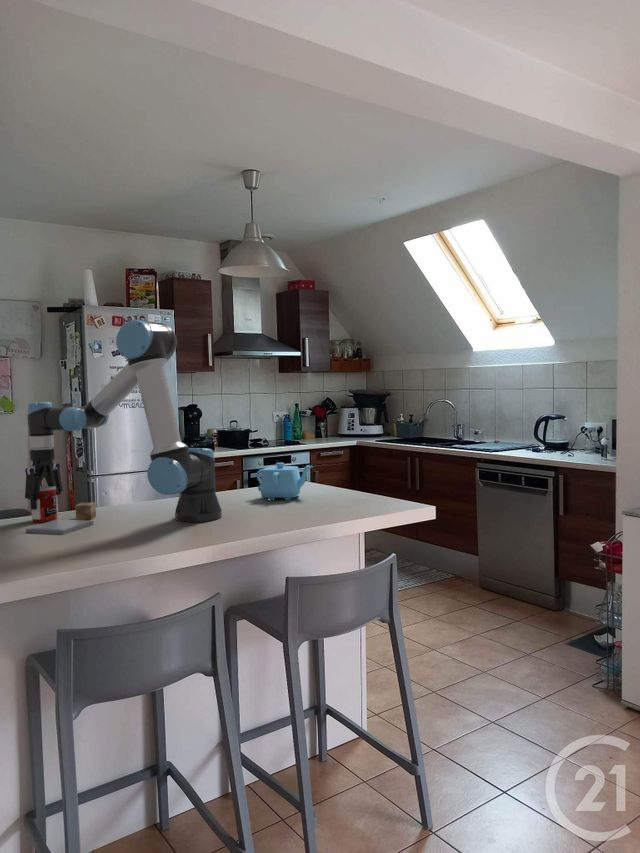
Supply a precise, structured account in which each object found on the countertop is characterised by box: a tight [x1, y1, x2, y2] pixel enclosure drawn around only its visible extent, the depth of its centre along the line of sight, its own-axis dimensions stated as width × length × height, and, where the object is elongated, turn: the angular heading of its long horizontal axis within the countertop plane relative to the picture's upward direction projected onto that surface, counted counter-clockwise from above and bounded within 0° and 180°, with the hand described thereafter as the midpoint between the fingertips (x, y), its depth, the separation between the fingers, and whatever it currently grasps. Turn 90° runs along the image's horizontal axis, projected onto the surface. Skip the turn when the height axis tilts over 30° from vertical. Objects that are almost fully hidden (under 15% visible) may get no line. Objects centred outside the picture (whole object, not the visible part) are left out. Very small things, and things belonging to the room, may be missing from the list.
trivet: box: [25, 518, 95, 535], centre depth 209 cm, size 14×14×1 cm
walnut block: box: [74, 502, 97, 521], centre depth 223 cm, size 5×5×5 cm
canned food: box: [32, 485, 58, 523], centre depth 222 cm, size 8×8×11 cm
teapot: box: [255, 462, 313, 501], centre depth 252 cm, size 18×16×14 cm
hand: (45, 516), depth 222 cm, fingers closed on canned food, 8 cm apart
